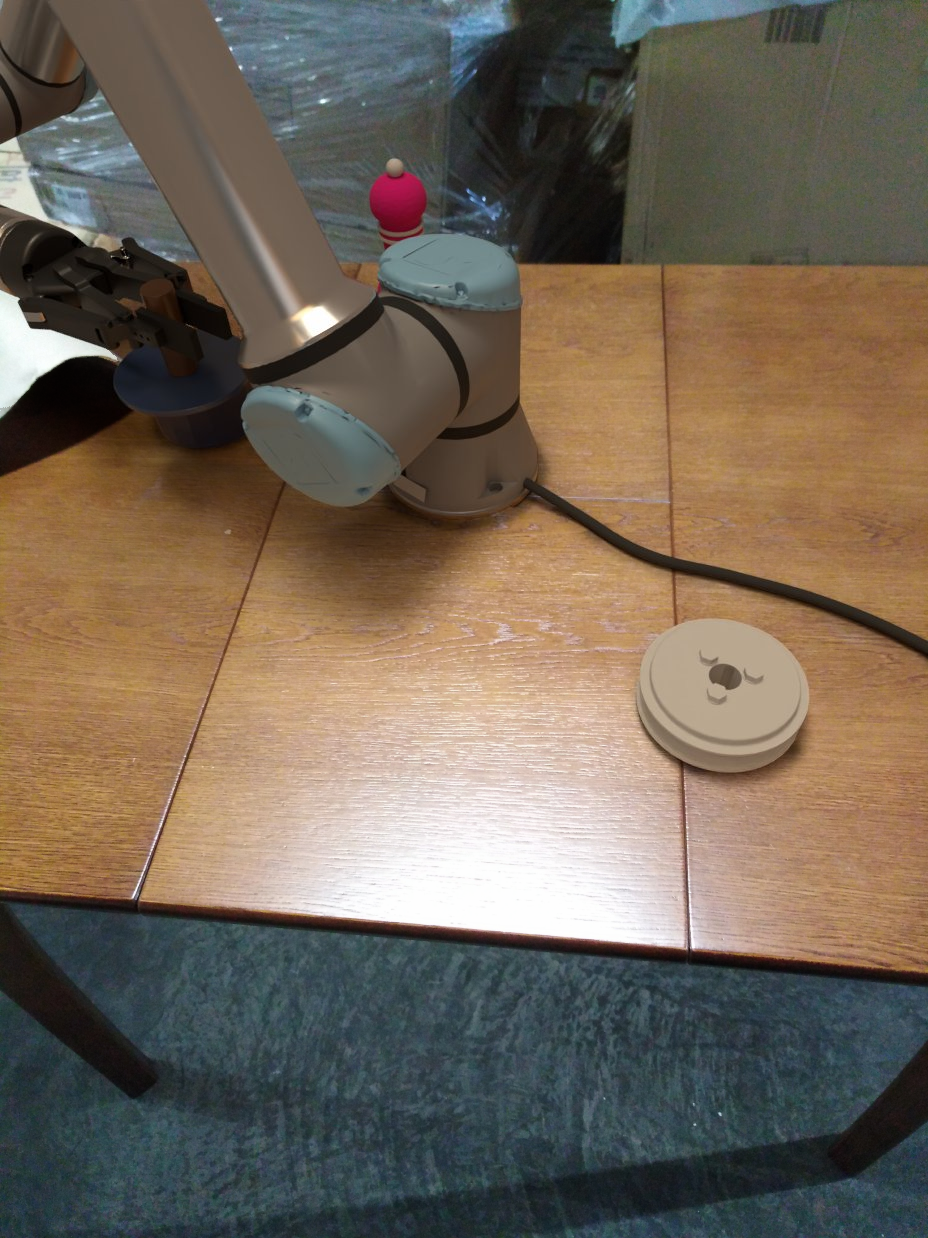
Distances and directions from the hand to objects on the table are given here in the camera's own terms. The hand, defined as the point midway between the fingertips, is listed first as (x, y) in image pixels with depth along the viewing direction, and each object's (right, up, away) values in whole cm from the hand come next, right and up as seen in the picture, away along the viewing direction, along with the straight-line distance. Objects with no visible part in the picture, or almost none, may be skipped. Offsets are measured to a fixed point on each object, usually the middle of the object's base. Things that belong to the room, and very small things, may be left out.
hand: (211, 334), depth 75 cm
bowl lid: (-4, -1, +7) cm, 8 cm away
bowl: (-6, -2, +22) cm, 23 cm away
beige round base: (+41, -31, -4) cm, 52 cm away
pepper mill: (+15, +10, +30) cm, 35 cm away
